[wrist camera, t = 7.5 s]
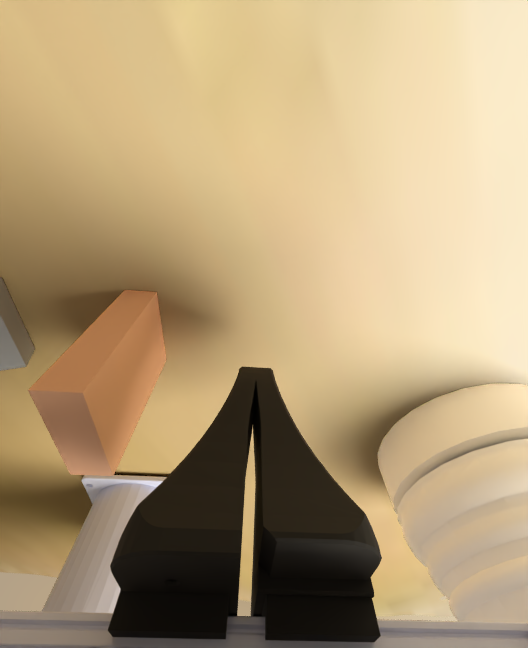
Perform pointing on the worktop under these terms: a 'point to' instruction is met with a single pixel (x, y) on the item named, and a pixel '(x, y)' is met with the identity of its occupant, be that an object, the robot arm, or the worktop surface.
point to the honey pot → (466, 496)
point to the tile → (103, 384)
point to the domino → (12, 334)
